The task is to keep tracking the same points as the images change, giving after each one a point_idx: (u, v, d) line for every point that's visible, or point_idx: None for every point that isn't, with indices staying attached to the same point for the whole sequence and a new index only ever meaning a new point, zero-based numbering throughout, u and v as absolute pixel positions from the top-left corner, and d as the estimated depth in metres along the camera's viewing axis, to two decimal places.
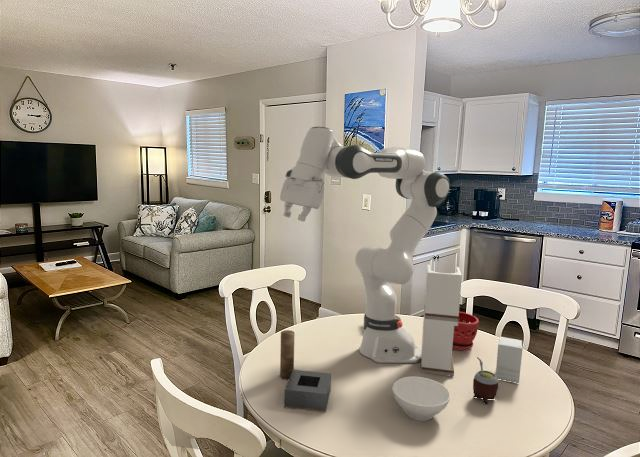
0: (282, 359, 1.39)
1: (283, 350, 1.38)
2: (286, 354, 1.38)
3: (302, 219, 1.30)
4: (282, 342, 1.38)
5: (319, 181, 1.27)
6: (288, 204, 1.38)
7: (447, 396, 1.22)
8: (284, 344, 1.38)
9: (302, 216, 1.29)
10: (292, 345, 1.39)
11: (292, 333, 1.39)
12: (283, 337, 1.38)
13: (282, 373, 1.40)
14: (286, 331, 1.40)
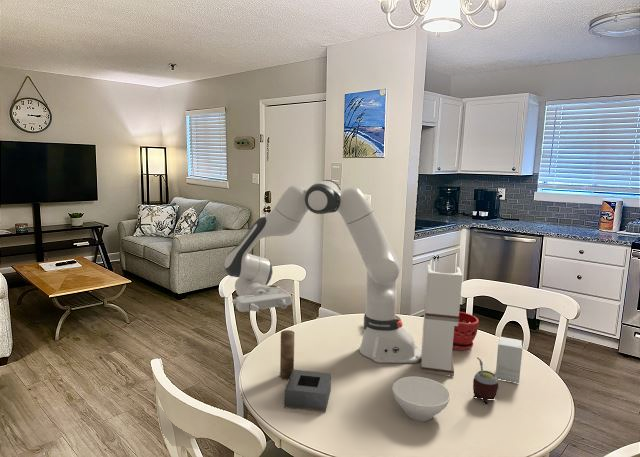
0: (282, 359, 1.39)
1: (283, 350, 1.38)
2: (286, 354, 1.38)
3: (257, 310, 1.47)
4: (282, 342, 1.38)
5: None
6: (281, 303, 1.55)
7: (447, 396, 1.22)
8: (284, 344, 1.38)
9: (256, 310, 1.47)
10: (292, 345, 1.39)
11: (292, 333, 1.39)
12: (283, 337, 1.38)
13: (282, 373, 1.40)
14: (286, 331, 1.40)
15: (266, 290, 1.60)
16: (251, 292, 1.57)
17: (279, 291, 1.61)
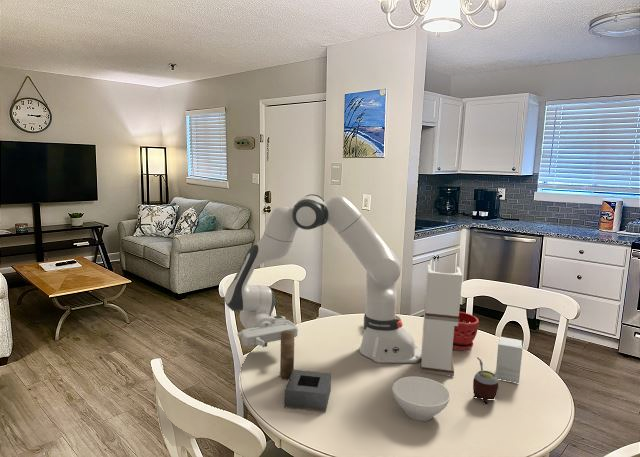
0: (282, 359, 1.39)
1: (283, 350, 1.38)
2: (286, 354, 1.38)
3: (262, 345, 1.44)
4: (282, 342, 1.38)
5: None
6: None
7: (447, 396, 1.22)
8: (284, 344, 1.38)
9: (261, 344, 1.45)
10: (292, 345, 1.39)
11: (292, 333, 1.39)
12: (283, 337, 1.38)
13: (282, 373, 1.40)
14: (286, 331, 1.40)
15: (271, 321, 1.58)
16: (256, 324, 1.55)
17: (285, 323, 1.58)
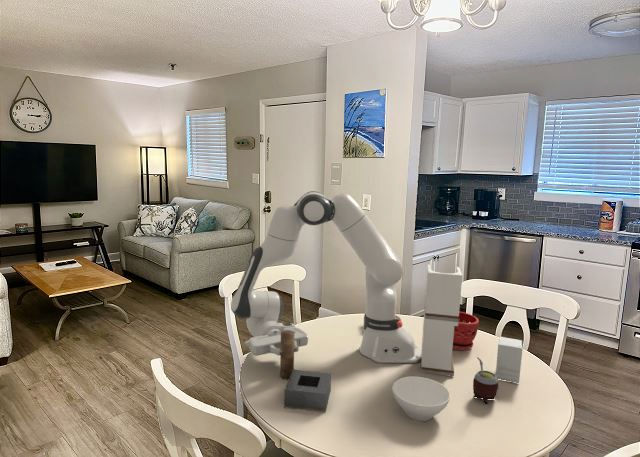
0: (282, 359, 1.39)
1: (283, 350, 1.38)
2: (286, 354, 1.38)
3: (277, 353, 1.38)
4: (282, 342, 1.38)
5: None
6: None
7: (447, 396, 1.22)
8: (284, 344, 1.38)
9: (276, 353, 1.39)
10: (292, 345, 1.39)
11: (292, 333, 1.39)
12: (283, 337, 1.38)
13: (282, 373, 1.40)
14: (286, 331, 1.40)
15: (280, 329, 1.51)
16: (265, 332, 1.48)
17: (294, 330, 1.51)
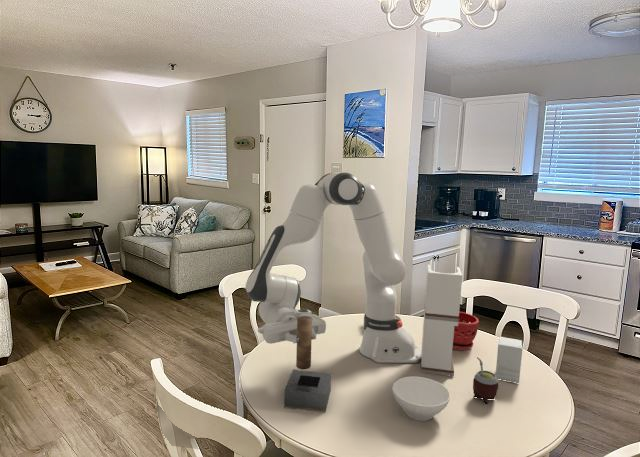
0: (299, 347, 1.28)
1: (300, 338, 1.27)
2: (303, 341, 1.27)
3: (293, 341, 1.27)
4: (299, 328, 1.27)
5: None
6: None
7: (447, 396, 1.22)
8: (301, 331, 1.26)
9: (292, 340, 1.28)
10: (309, 332, 1.27)
11: (309, 319, 1.28)
12: (299, 323, 1.26)
13: (298, 362, 1.28)
14: (303, 317, 1.29)
15: (296, 316, 1.40)
16: (279, 319, 1.37)
17: (311, 317, 1.40)
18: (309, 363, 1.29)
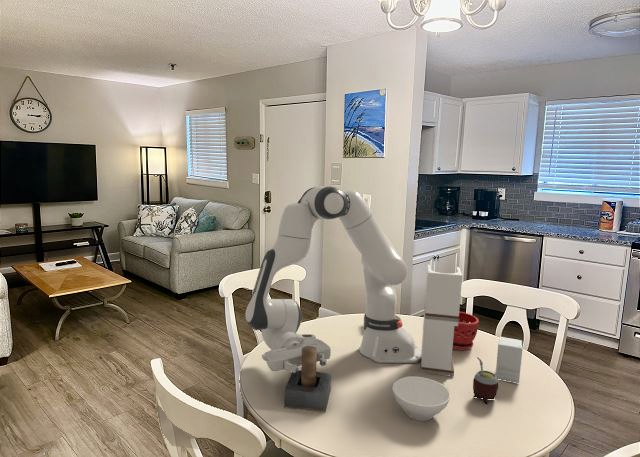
0: (303, 378, 1.26)
1: (305, 369, 1.25)
2: (308, 372, 1.25)
3: (293, 370, 1.24)
4: (303, 360, 1.25)
5: None
6: (319, 358, 1.32)
7: (447, 396, 1.22)
8: (306, 362, 1.25)
9: (291, 369, 1.25)
10: (314, 363, 1.26)
11: (314, 350, 1.26)
12: (304, 355, 1.25)
13: None
14: (307, 347, 1.27)
15: (300, 341, 1.38)
16: (283, 344, 1.35)
17: (315, 342, 1.38)
18: None
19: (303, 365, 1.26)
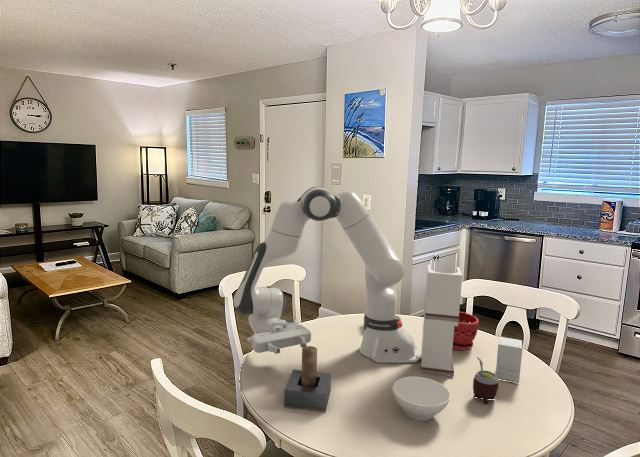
0: (303, 378, 1.26)
1: (305, 369, 1.25)
2: (308, 372, 1.25)
3: (275, 351, 1.35)
4: (304, 360, 1.25)
5: None
6: (300, 341, 1.43)
7: (447, 396, 1.22)
8: (306, 362, 1.25)
9: (274, 351, 1.36)
10: (315, 363, 1.26)
11: (315, 350, 1.26)
12: (304, 355, 1.25)
13: None
14: (308, 347, 1.27)
15: (283, 326, 1.49)
16: (267, 329, 1.46)
17: (297, 327, 1.49)
18: None
19: (303, 365, 1.26)
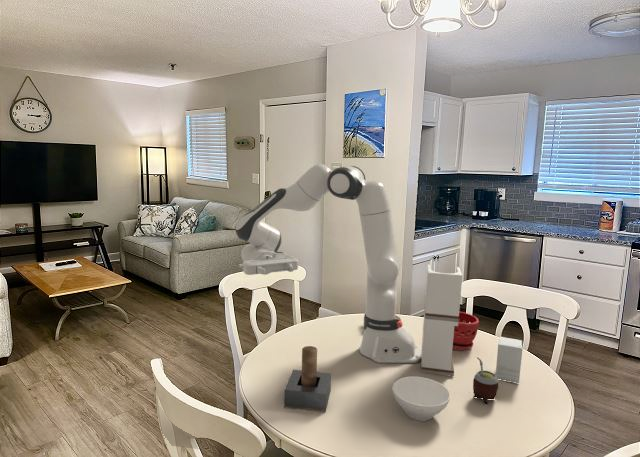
0: (304, 378, 1.26)
1: (305, 369, 1.25)
2: (308, 372, 1.25)
3: (264, 272, 1.47)
4: (304, 360, 1.25)
5: None
6: (287, 268, 1.55)
7: (447, 396, 1.22)
8: (306, 362, 1.25)
9: (263, 272, 1.48)
10: (315, 363, 1.26)
11: (315, 350, 1.26)
12: (304, 355, 1.25)
13: None
14: (308, 347, 1.27)
15: (272, 256, 1.61)
16: (258, 257, 1.58)
17: (286, 257, 1.61)
18: None
19: (303, 365, 1.26)
